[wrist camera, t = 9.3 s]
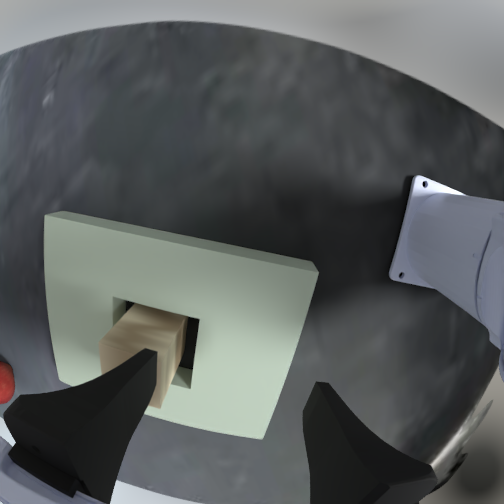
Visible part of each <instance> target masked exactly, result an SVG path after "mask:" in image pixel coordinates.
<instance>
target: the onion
mask: <svg viewBox="0 0 504 504" xmlns="http://www.w3.org/2000/svg"><path fill="white" fill-rule="evenodd" d="M14 390H15V381H14V376H13V369H12V367H11V366H10V365H9V364H7V363H4V362H1V361H0V404H4V403H7V402H8V401H9V400H11V398H12V396H13V394H14Z"/></svg>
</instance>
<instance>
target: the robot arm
mask: <svg viewBox="0 0 504 504" xmlns="http://www.w3.org/2000/svg"><path fill="white" fill-rule="evenodd" d="M423 181H424V182H425V187H423V185H422V183H423ZM401 272H402V276H401V277H399V274H400V273H401ZM389 277H390V278H391V279H392V280H394V281H399V282H404V283H409V284H414V285H419V286H423V287H428V288H433V289H436V290H438V291H439V292H441V293H442V294H443V295H445V296H446V297H447V298H449V299H450V300H452V301H453V302H454V303H456V304H457V305H458V306H460V307H461V308H462V309H464V310H465V311H466V312H468V313H469V314H470V315H472V316H473V317H474V318H475V319H477V320H478V321H479V322H481V323H482V324H483V325H484V326H486V327H487V329H488V330H489V333H490V341H491V342H492V343H493V344H494V345H495V346H496V347H498V348H499V349H500V350H501V353H500V358H499V370H500V375H501V378H502V380H503V382H504V202H503V201H497V200H491V199H485V198H479V197H472V196H467V195H465V194H462V193H460V192H458V191H456V190H454V189H451V188H449V187H447V186H445V185H442V184H440V183H437V182H435V181H433V180H430V179H428V178H425V177H423V176H419V175H417V176H414V178H413V180H412V184H411V189H410V194H409V199H408V203H407V208H406V212H405V216H404V220H403V224H402V228H401V232H400V236H399V240H398V243H397V247H396V250H395V254H394V257H393V261H392V264H391V267H390V271H389ZM157 355H158V351H154V350H151V349H147V348H144V349H142V350H141V351H139V352H138V353H137V354H135V355H134V356H132V357H131V358H129V359H128V360H126V361H125V362H123V363H122V364H120V365H118V366H117V367H115V368H114V369H112V370H110V371H108V372H106V373H105V374H103V375H101V376H99V377H97V378H95V379H93V380H90V381H88V382H85V383H83V384H80V385H77V386H74V387H70V388H67V389H63V390H59V391H54V392H48V393H41V394H27V395H20V396H19V397H18V398H17V399H16V400H15V401H14V402H13V403H12V404H11V405H10V406H9V407H8V408H7V410H6V411H5V412H4V414H3V416H4V421H5V423H6V425H7V427H8V429H9V431H10V433H11V435H12V437H13V438H14V440H15V442H16V443H15V445H14V446H13V447H12V446H11V445H10V444H9V443H8V442H7V441H6V440H5V439H3V438H2V437H1V436H0V501H1V502H2V503H3V504H110V501H111V496H112V493H113V489H114V486H115V482H116V479H117V476H118V472H119V469H120V466H121V463H122V460H123V457H124V455H125V452H126V449H127V446H128V444H129V441H130V439H131V437H132V435H133V433H134V431H135V429H136V427H137V426H138V424H139V422H140V420H141V418H142V416H143V414H144V412H145V411H146V409H147V407H148V405H149V403H150V401H151V398H152V396H153V393H154V390H155V387H156V384H157ZM303 433H304V439H305V445H306V451H307V457H308V463H309V470H310V504H419V501H420V500H421V499H423V497H425V496H426V495H427V494H428V493H429V492H430V491H431V490H432V489H433V488H434V487H435V486H436V484H437V482H438V479H437V477H436V475H435V473H434V471H433V468H432V466H431V465H428V464H426V463H423V462H421V461H418V460H416V459H413V458H411V457H409V456H407V455H405V454H403V453H402V452H400V451H398V450H396V449H395V448H393V447H392V446H390V445H389V444H387V443H386V442H384V441H383V440H382V439H380V438H379V437H378V436H377V435H376V434H374V433H373V432H372V431H371V430H370V429H369V428H367V427H366V426H365V425H364V424H363V423H362V422H361V421H360V420H359V419H358V418H357V416H356V415H355V414H354V413H353V412H352V411H351V410H350V409H349V407H348V406H347V405H346V404H345V403H344V401H343V400H342V399H341V398H340V397H339V395H338V394H337V393H336V391H335V390H334V389H333V388H332V387H331V385H330V384H329V383H325V382H316V383H315V385H314V387H313V390H312V392H311V394H310V397H309V399H308V401H307V403H306V406H305V408H304V410H303Z"/></svg>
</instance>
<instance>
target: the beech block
mask: <svg viewBox="0 0 504 504" xmlns="http://www.w3.org/2000/svg"><path fill="white" fill-rule="evenodd" d="M187 322H188V316H185V315H181V314H177V313H173V312H169V311H165V310H161V309H157V308H153V307H149V306H145V305H142V304H138V303H135V304H134V305H133V306H132V307H131V308H130V309H129V310H128V311H127V312H126V313H125V314H124V315H123V317H122V318H121V319H120V320H119V321H118V322H117V323H116V324H115V325H114V326H113V327H112V328H111V329H110V330H109V331H108V333H107V334H106V335H105V336H104V337H103V338H102V339H101V340H100V341H99V342H98V344H99V355H100V365H101V373H102V375H103V374H105V373H106V372H108V371H110V370H112V369H114V368H115V367H117V366H118V365H120V364H122V363H123V362H125V361H126V360H128V359H129V358H131V357H132V356H134V355H135V354H137V353H138V352H139V351H141V350H142V349H144V348H147V349H151V350H154V351H158V355H157V384H156V387H155V390H154V393H153V396H152V398H151V401H150V403H149V405H148V406H151V407H155V408H158V409H160V408H161V406H162V403H163V401H164V398H165V396H166V394H167V391H168V389H169V387H170V384H171V382H172V379H173V377H174V375H175V372H176V370H177V368H178V365H179V363H180V361H181V358H182V356H183V354H184V350H185V340H186V331H187Z"/></svg>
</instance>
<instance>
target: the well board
mask: <svg viewBox="0 0 504 504" xmlns="http://www.w3.org/2000/svg"><path fill="white" fill-rule="evenodd" d="M44 269H45V287H46V299H47V309H48V318H49V326H50V333H51V339H52V345H53V351H54V356H55V361H56V366H57V371H58V375H59V379H60V380H61V381H63V382H65V383H67V384H69V385H71V386H73V387H74V386H77V385H80V384H83V383H85V382H88V381H90V380H93V379H95V378H97V377H99V376H101V375H102V373H101V365H100V355H99V344H98V342H99V341H100V340H101V339H102V338H103V337H104V336H105V335H106V334H107V333H108V331H109V330H110V329H111V328H112V327H113V326H114V325H115V324H116V323H117V322H118V321H119V320H120V319H121V318H122V317H123V315H124V314H125V313H126V300H127V301H131V302H134V303H138V304H142V305H145V306H149V307H153V308H157V309H161V310H165V311H169V312H173V313H177V314H181V315H185V316H189V317H193V318H198V319H200V322H199V329H198V336H197V343H196V350H195V358H194V366H193V370H191V369H187V368H183V367H179V366H178V368H177V370H176V372H175V375H174V377H173V379H172V382H171V384H170V387H169V389H168V391H167V394H166V396H165V398H164V401H163V403H162V406H161V408H160V409H158V408H155V407H151V406H148V407H147V409H146V411H145V412H144V414H147V415H150V416H153V417H157V418H160V419H164V420H167V421H171V422H175V423H179V424H183V425H187V426H191V427H195V428H200V429H204V430H209V431H214V432H219V433H224V434H230V435H236V436H242V437H249V438H257V439H263V437H264V434H265V432H266V429H267V427H268V424H269V422H270V419H271V417H272V414H273V411H274V409H275V406H276V403H277V401H278V398H279V395H280V393H281V390H282V387H283V384H284V382H285V379H286V376H287V373H288V370H289V367H290V364H291V362H292V359H293V356H294V353H295V350H296V347H297V344H298V340H299V337H300V334H301V331H302V328H303V325H304V322H305V318H306V315H307V312H308V309H309V305H310V302H311V298H312V295H313V292H314V288H315V285H316V281H317V278H318V274H319V272H318V270H317V269H316V267H315V265H314V264H313V262H312V261H307V260H302V259H297V258H293V257H288V256H283V255H278V254H273V253H268V252H264V251H259V250H254V249H249V248H244V247H239V246H234V245H230V244H225V243H220V242H215V241H210V240H205V239H200V238H195V237H191V236H186V235H181V234H176V233H171V232H166V231H161V230H156V229H151V228H146V227H141V226H136V225H132V224H127V223H122V222H117V221H112V220H107V219H102V218H97V217H92V216H87V215H82V214H77V213H72V212H67V211H60V212H56V213H51V214H47V215H45V221H44Z"/></svg>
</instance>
